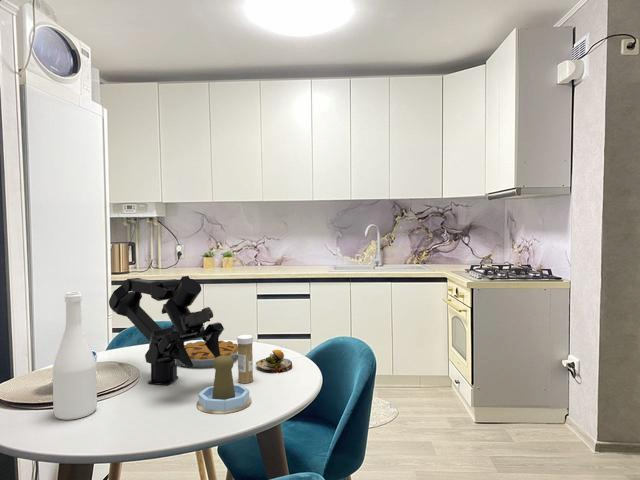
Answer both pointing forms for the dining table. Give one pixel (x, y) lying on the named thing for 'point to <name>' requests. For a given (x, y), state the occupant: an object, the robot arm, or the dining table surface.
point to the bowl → (227, 404)
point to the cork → (223, 378)
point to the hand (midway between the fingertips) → (206, 362)
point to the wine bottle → (74, 367)
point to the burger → (275, 362)
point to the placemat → (223, 411)
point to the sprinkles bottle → (245, 358)
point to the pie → (208, 353)
